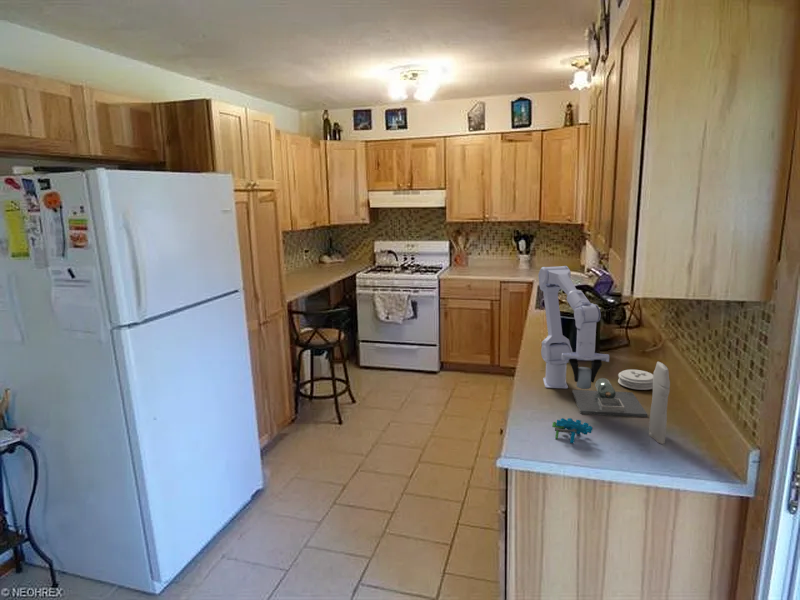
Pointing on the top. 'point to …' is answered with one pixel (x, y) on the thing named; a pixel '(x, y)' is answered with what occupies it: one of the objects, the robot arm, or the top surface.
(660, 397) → the tall pale column
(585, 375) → the grey rounded capsule
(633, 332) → the top surface
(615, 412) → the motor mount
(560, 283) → the robot arm
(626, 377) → the lid
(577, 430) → the teal bumpy piece
